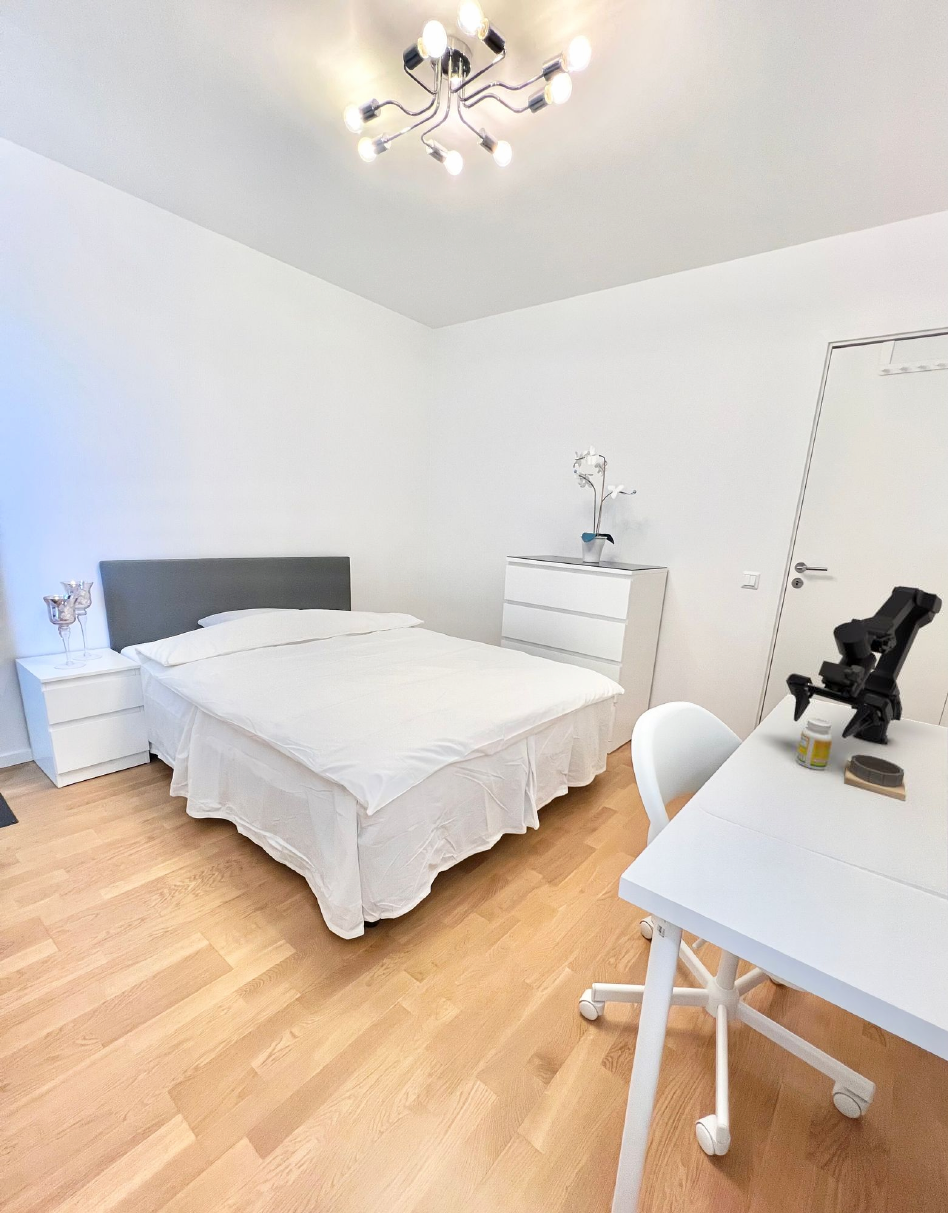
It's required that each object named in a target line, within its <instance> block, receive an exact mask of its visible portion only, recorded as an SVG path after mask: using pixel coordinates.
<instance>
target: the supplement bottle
mask: <svg viewBox="0 0 948 1213" xmlns="http://www.w3.org/2000/svg"><path fill="white" fill-rule="evenodd" d="M831 726H832V724H831V723H830V722H829V721H827V720H824V719H821V718H816V717H811V718H810V717H809V718H808V719H807V722H806V727H803V728H802V730H801V733H800V738H799V743H798V749H797V755H796V762H798V764H799V765H801V766H803V767H805V768H808V769H811V770H818V771H823V770H826V769H827V766H828V760H829V758H830V757H829V756H830V751H831V747H832V746H831V745H832V742H833V735H832V734H831V733H830V731H831Z"/></svg>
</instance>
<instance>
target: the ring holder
mask: <svg viewBox="0 0 948 1213" xmlns="http://www.w3.org/2000/svg"><path fill="white" fill-rule="evenodd" d="M845 763H846V764H845V771H844V772H845V773H844V774H845V775H844V784H846V785H849V786H852V787H856V788H859V789H863V790H865V791H870V792H874V793H877V794H880V795H883V796H887V797H890V798H894V799H897V800H901V801H904V802H905V800H906V797H907V793H906V791H907V790H906V786H905V778H904V777H905V776H904V775H905V770H904V769H903V768H902V767H901V766H899V765H898V764H896V763H893V762H891V761H889V760H886V759H883V758H879V757H876V756H873V755H866V754H856V755H852V756H851V758H850V760H849V759H847V760H846V762H845Z"/></svg>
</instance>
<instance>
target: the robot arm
mask: <svg viewBox="0 0 948 1213" xmlns="http://www.w3.org/2000/svg"><path fill="white" fill-rule="evenodd" d="M942 600H943V599H942V598H940V597H939V596H938V594H936V593H931V592H930V593H929V592H927V591H924V590H923V589H920V588H918V587H911V586H910V587H909V586H903V585H898V586H894V587H893V589H892V591H891V594H890V596H889V597H888V598H887V599H886V600H885V601H884V602H883V604H882V605H881V606H880V607H879V609H878V610H877V611H876V612H875V614H873V616H871V617H867V618H866V617H865V618H862V619H857V618H852V619H851V620H850V621H849V622H844V623H841V624H839V625H838V626H836V627H835V628H834V629H833V631H832V632H833V633H832V634H833V637H834V641H835V646H836V649H837V651H838V654H839V655H841V656H842V657H841V658H840V660H839V662H838V663H837V662H832V661H828V660H823V661H822V663H821V666H820V669H819V671H818V674H817V675H818V676H819V677H821V678H822V679H821V680H820V681H821V685H822V684H823V685H824V686H819V685H815V684H814V683H813V681H812V678H811V677H809V676H807V675H802V674H798V673H790V674H789V675H788V677H787V678H786V680H785V682H786V684H787V687H788V689H789V691H790V694H791V695H793V697H794V698H795V705H794V714H793V721H794V722H798V721H799V720H800V719H801V718H802V716H803V715H804V713H805V712H806V710H807V708H808V707H809V706H810V704H811V700H810V699H812V698H813V697H814V695H816V696H819V697H822V698H826V699H829V700H833V701H835V702H839V703H843V704H845V705H849V706H851V707H850V709H852V710H856V711H855V713H854V715H853V717H852V718H851V719H850V721H849V722H848V723H847V725H846V726H845V728H844V730H843V732H842V734H841V738H843V739H846V738H848V737H850V736H852V735H853V737H855V738H858V739H862V740H866V741H870V742H873V743H878V744H882V745H888V743H889V740H888V735H887V733H888V729H889V724H890V723H891V721H901V719H902V716H903V715H902V714H903V713H902V712H903V705H902V702H901V697H900V695H901V692H900V689H899V685H898V682H897V680H898V678H899V676H900V673H901V671H902V669H903V666H904V664H905V663H906V660H907V657H908V656H909V652H910V651H911V648H912V647H913V644H914V641H915V639H916V638H917V635H918V633H919V630H920V629H922V628H923V627H925V626H928V625H929V624H930V623H932V621H933V620H934V619H935V616H936V615H937V614H939V613H940V611H941V609H942V605H943V601H942ZM875 653H877V654H880V656H879V658H878V659H877V655H875ZM877 660H878V661H877Z"/></svg>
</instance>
